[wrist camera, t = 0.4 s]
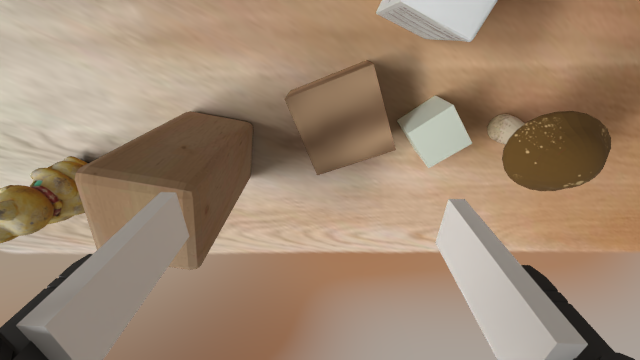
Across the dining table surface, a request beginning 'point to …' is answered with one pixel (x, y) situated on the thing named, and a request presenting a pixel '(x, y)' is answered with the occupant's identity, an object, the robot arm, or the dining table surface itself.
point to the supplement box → (438, 17)
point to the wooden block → (171, 179)
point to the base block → (342, 118)
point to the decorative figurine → (41, 200)
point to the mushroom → (552, 149)
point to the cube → (434, 130)
